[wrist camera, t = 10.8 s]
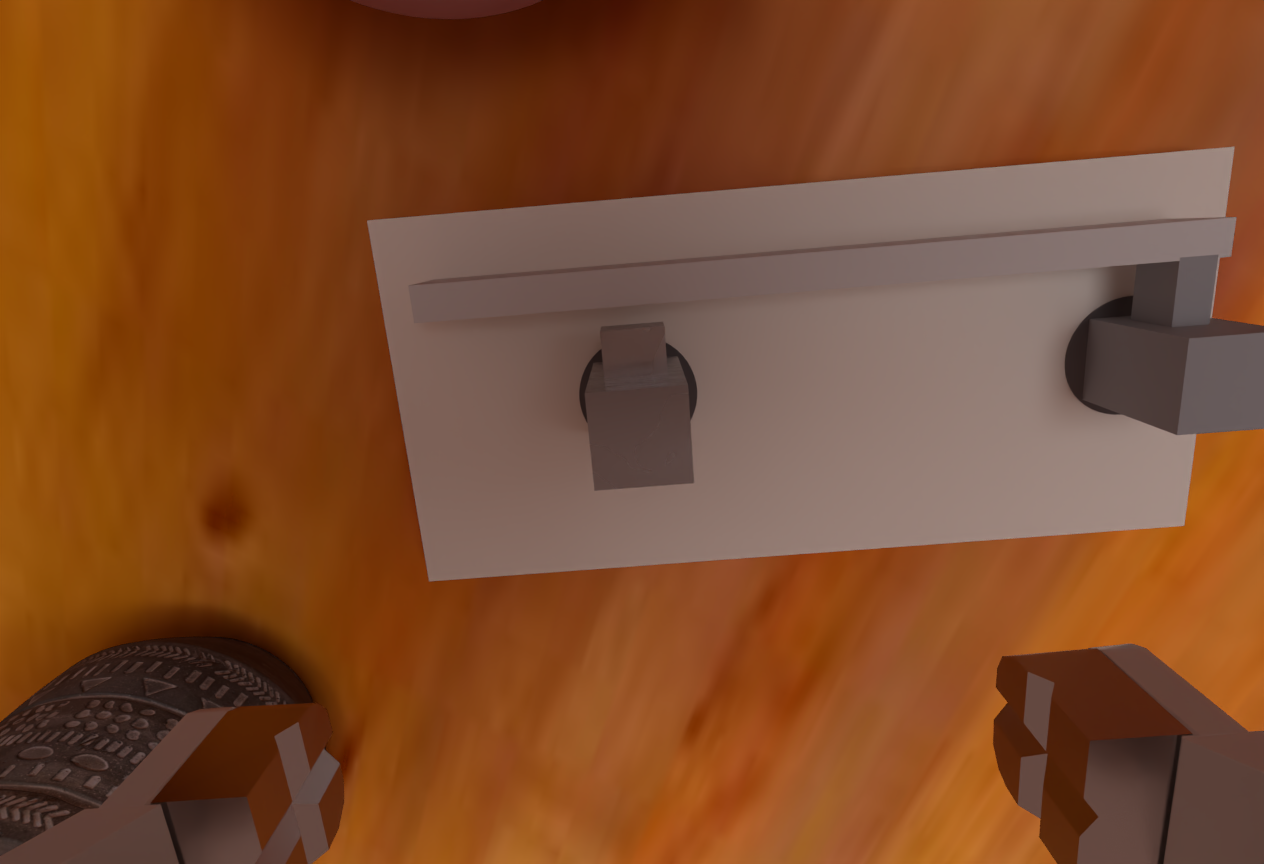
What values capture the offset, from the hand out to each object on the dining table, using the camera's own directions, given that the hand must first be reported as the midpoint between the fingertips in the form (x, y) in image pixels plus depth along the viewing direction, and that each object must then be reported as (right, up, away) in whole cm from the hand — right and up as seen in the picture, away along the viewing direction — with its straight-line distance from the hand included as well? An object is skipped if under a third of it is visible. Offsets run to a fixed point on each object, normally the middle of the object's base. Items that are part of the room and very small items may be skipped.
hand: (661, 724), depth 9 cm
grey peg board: (+6, +6, +20) cm, 22 cm away
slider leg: (0, +5, +18) cm, 18 cm away
